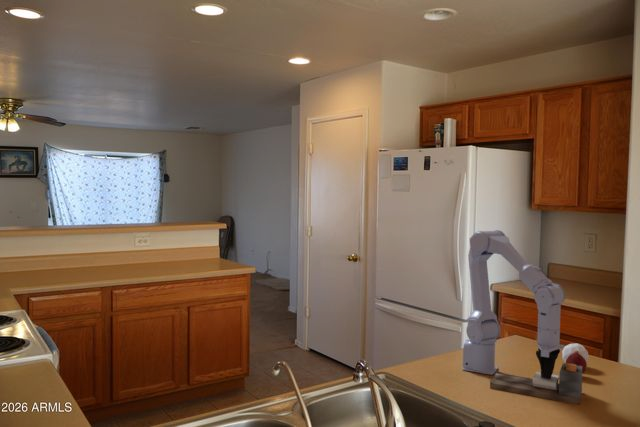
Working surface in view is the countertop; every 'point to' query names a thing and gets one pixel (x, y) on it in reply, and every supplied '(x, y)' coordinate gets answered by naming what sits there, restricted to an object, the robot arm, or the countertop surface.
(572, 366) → the brown egg
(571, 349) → the ball
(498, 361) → the countertop surface
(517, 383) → the rail bed
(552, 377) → the carriage
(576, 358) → the onion
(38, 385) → the countertop surface
